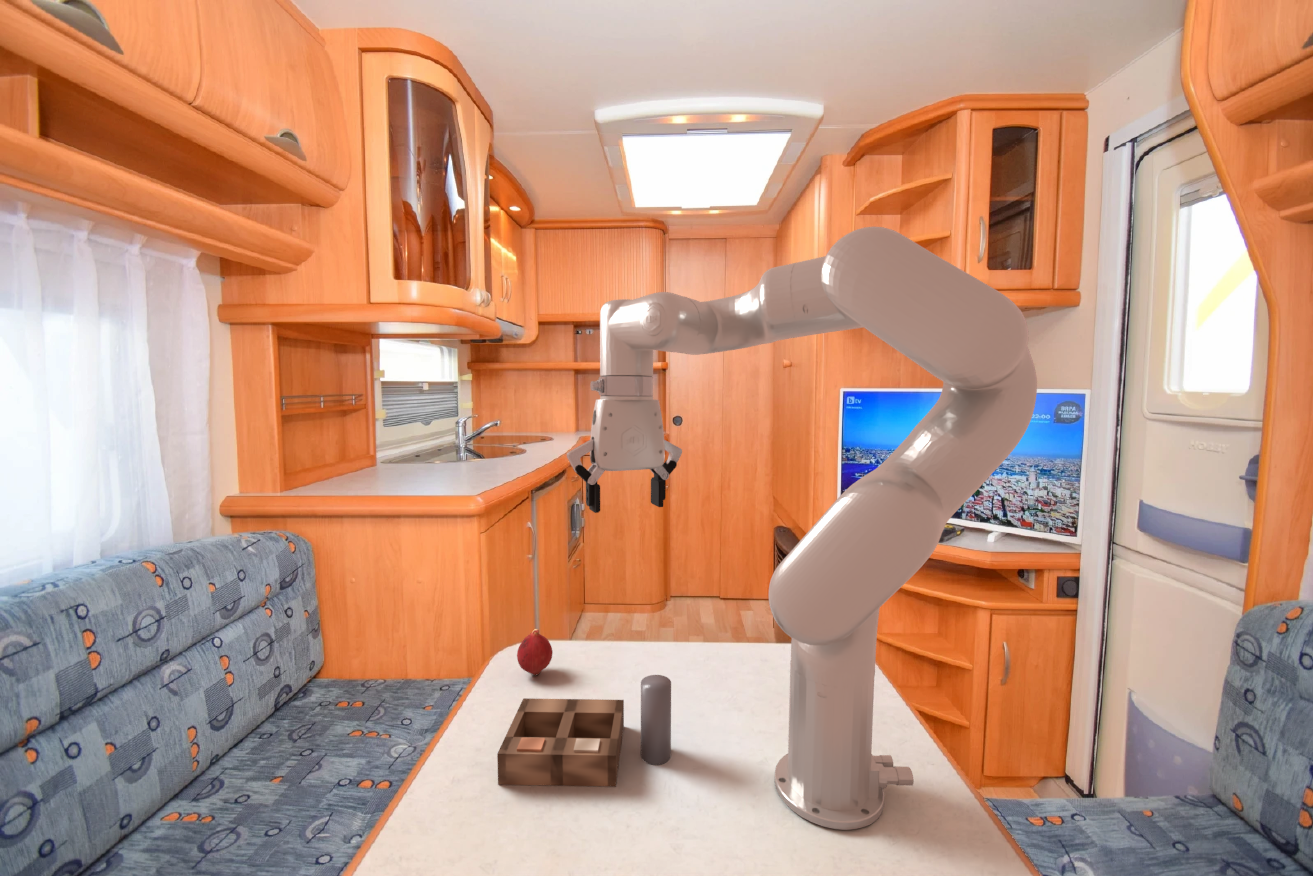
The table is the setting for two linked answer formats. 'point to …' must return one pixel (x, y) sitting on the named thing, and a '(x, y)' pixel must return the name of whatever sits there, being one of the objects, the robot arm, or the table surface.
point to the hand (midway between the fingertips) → (626, 508)
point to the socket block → (563, 743)
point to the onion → (534, 653)
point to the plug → (655, 719)
